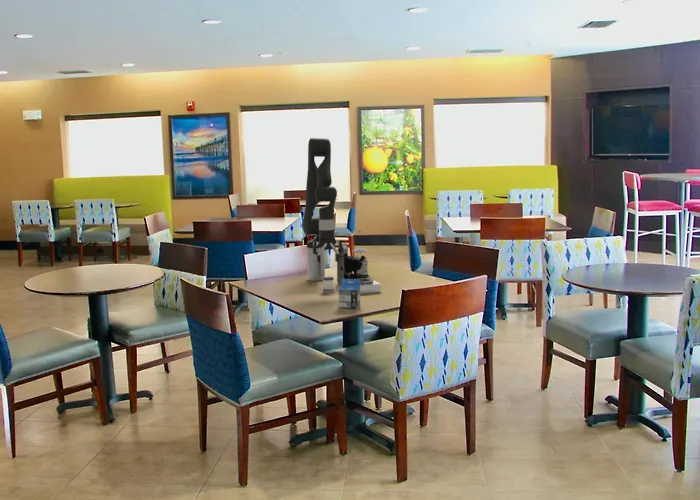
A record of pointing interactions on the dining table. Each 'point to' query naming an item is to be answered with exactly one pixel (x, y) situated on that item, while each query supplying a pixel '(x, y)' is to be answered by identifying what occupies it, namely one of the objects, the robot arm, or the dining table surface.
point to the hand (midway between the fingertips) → (328, 262)
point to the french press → (365, 262)
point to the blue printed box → (349, 294)
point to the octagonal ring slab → (369, 286)
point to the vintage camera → (349, 266)
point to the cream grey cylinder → (328, 284)
